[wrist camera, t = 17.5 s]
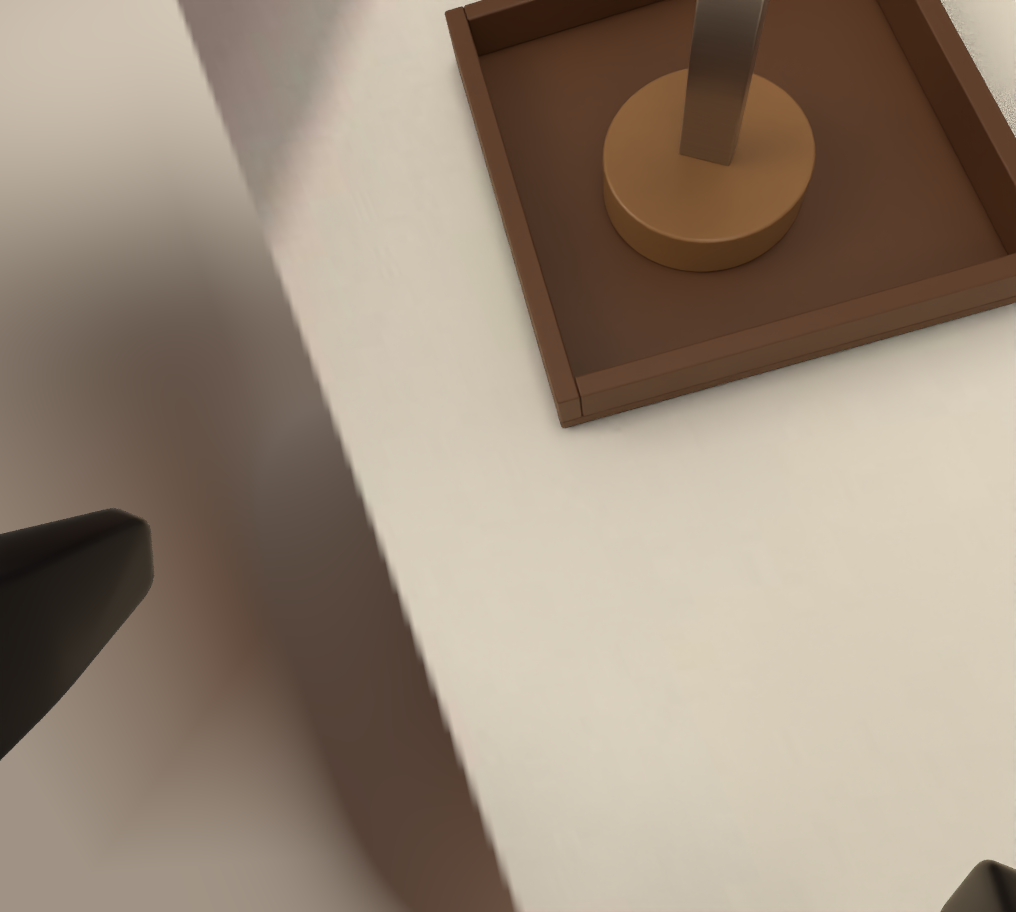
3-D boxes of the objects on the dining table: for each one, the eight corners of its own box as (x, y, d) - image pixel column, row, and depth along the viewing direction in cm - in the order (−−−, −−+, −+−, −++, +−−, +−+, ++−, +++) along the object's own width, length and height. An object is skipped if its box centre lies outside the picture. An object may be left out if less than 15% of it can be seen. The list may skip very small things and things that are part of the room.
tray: (562, 429, 22) (557, 404, 20) (456, 60, 26) (443, 11, 24) (1040, 296, 21) (1082, 256, 19) (854, -61, 25) (874, -122, 23)
